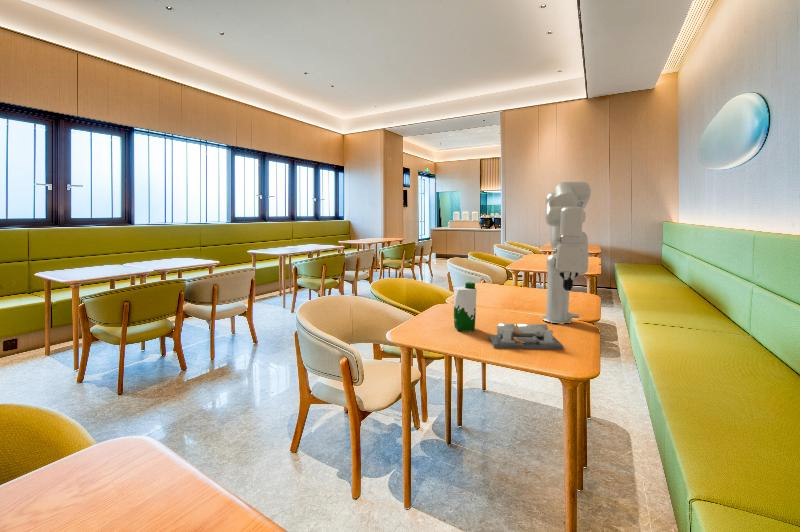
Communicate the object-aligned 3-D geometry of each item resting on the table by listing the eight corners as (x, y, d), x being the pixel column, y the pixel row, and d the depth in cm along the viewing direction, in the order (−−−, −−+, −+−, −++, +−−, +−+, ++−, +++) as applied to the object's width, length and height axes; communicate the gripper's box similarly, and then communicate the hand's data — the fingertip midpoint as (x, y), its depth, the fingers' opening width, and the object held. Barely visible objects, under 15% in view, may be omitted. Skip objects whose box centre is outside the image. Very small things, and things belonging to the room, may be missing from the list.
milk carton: (477, 331, 171) (478, 284, 169) (456, 332, 171) (457, 285, 168) (471, 326, 180) (473, 281, 178) (451, 326, 179) (452, 281, 177)
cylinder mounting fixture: (552, 339, 160) (553, 323, 160) (563, 349, 148) (564, 332, 148) (488, 338, 162) (489, 322, 161) (493, 348, 150) (494, 331, 149)
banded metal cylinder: (544, 337, 157) (544, 324, 158) (548, 337, 152) (547, 324, 153) (497, 336, 158) (496, 323, 159) (499, 336, 153) (499, 323, 154)
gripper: (552, 241, 146) (550, 291, 148) (595, 241, 145) (592, 292, 147) (546, 240, 154) (544, 288, 156) (587, 240, 153) (584, 288, 155)
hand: (567, 289), depth 152 cm, fingers closed
